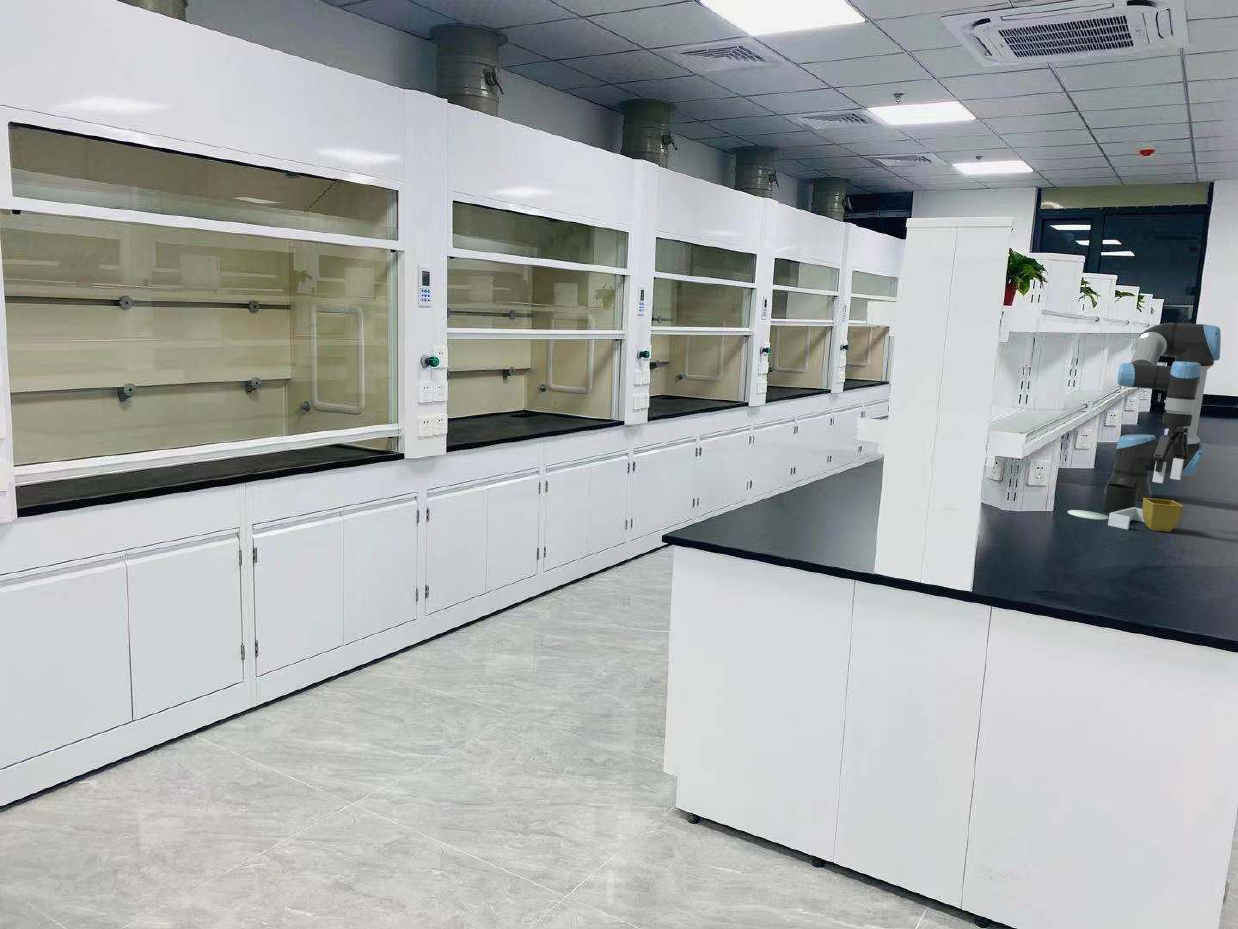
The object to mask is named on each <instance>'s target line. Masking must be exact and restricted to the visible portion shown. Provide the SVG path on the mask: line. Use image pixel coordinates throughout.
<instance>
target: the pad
mask: <svg viewBox="0 0 1238 929" xmlns="http://www.w3.org/2000/svg"><path fill="white" fill-rule="evenodd" d="M1067 514H1069V515H1071V516H1074V517H1077V518H1083V519H1089V520H1101V521H1103V520H1109V516H1108V515H1106V514H1103V513H1100V512H1096V511H1095V512H1094V511H1091V510H1090V511H1089V510H1080V509H1071V510H1067Z"/></svg>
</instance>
